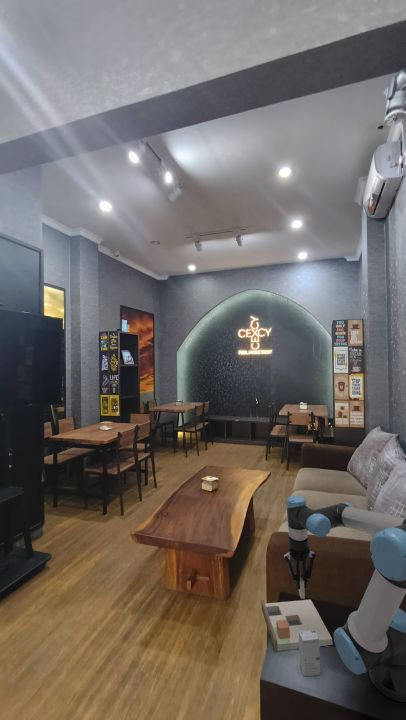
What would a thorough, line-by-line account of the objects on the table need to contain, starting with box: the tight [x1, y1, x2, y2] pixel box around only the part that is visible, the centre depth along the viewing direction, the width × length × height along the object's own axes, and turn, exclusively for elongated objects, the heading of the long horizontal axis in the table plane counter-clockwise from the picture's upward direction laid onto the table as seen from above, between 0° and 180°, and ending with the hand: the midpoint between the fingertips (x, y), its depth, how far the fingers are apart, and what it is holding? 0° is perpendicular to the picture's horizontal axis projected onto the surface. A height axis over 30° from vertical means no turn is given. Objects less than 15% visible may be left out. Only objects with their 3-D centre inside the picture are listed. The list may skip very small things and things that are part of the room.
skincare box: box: [298, 630, 321, 677], centre depth 120 cm, size 6×4×12 cm
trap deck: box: [260, 599, 334, 652], centre depth 140 cm, size 22×22×4 cm
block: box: [276, 620, 290, 639], centre depth 133 cm, size 4×4×4 cm
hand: (301, 596), depth 138 cm, fingers closed
